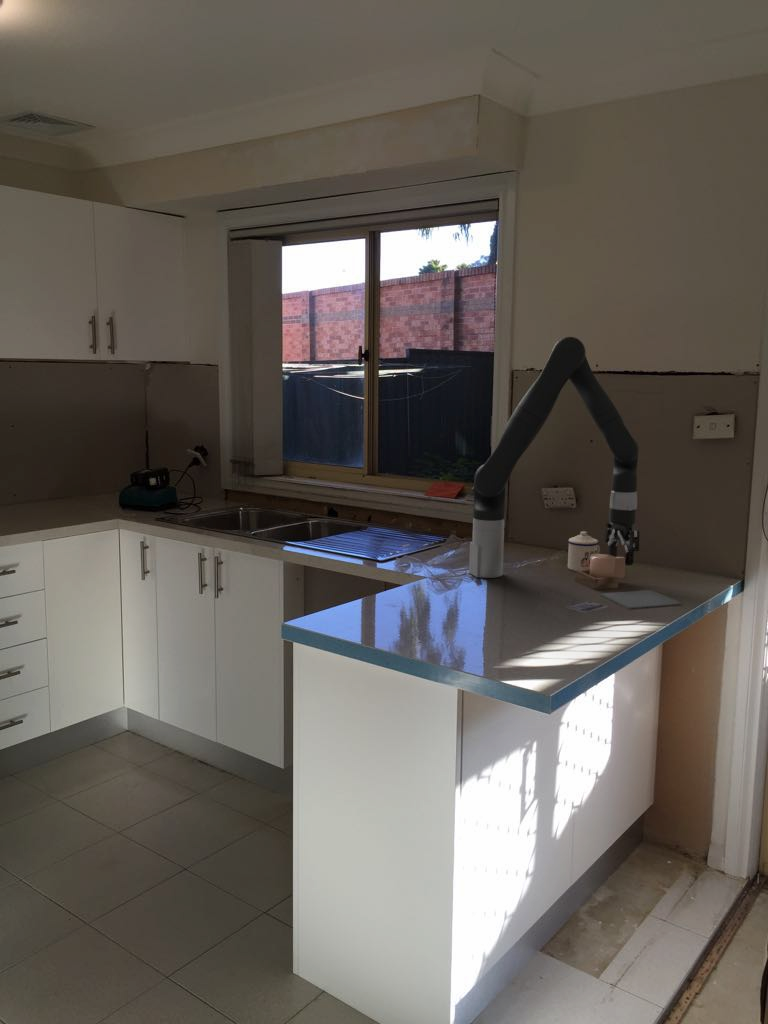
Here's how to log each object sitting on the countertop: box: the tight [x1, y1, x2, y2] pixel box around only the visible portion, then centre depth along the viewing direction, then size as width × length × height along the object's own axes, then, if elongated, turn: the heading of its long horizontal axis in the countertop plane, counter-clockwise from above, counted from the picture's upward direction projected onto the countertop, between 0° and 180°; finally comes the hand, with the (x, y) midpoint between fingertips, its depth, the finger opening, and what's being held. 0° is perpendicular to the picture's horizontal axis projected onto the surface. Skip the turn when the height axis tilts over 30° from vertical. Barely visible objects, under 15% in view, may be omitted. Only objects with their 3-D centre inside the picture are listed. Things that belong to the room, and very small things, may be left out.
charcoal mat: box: [599, 589, 682, 610], centre depth 232 cm, size 16×14×1 cm
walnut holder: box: [574, 569, 619, 590], centre depth 248 cm, size 8×11×3 cm
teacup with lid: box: [567, 531, 601, 572], centre depth 266 cm, size 12×9×12 cm
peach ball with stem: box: [589, 553, 626, 579], centre depth 248 cm, size 10×7×8 cm, turn 107°
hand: (620, 561), depth 249 cm, fingers open, 8 cm apart
